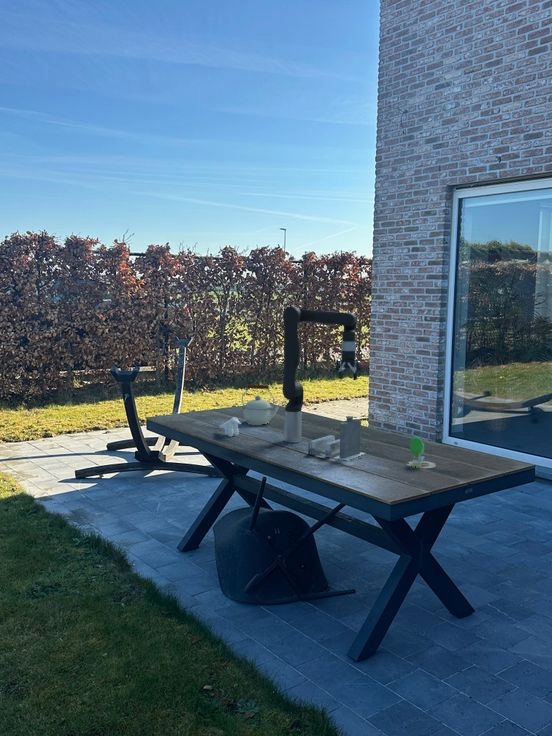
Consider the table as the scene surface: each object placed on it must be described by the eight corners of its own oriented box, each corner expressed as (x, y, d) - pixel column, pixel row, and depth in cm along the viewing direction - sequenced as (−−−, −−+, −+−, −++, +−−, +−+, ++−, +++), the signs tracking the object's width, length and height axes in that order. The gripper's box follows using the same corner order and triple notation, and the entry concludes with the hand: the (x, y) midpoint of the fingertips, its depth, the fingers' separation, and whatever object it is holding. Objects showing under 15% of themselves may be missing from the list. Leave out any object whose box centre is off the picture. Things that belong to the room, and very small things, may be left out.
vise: (307, 454, 322) (307, 441, 322) (328, 447, 338) (328, 434, 337) (329, 458, 314) (329, 445, 313) (349, 451, 329) (350, 438, 329)
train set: (423, 442, 293) (400, 437, 304) (422, 470, 294) (400, 464, 305) (443, 438, 302) (420, 433, 313) (442, 465, 303) (419, 459, 314)
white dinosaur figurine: (237, 438, 355) (235, 418, 355) (214, 435, 374) (212, 416, 374) (246, 436, 360) (245, 417, 359) (223, 433, 378) (222, 415, 378)
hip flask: (343, 458, 312) (344, 419, 310) (336, 457, 315) (337, 418, 312) (361, 453, 324) (362, 414, 321) (355, 451, 326) (355, 413, 324)
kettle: (236, 424, 397) (236, 385, 394) (246, 419, 414) (246, 382, 412) (274, 427, 390) (274, 387, 387) (282, 421, 407) (283, 383, 404)
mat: (333, 458, 314) (333, 457, 314) (352, 451, 328) (352, 450, 328) (347, 461, 309) (347, 460, 309) (365, 454, 324) (365, 453, 324)
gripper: (333, 349, 341) (333, 379, 342) (356, 350, 332) (355, 381, 334) (341, 348, 346) (340, 377, 348) (363, 349, 338) (363, 379, 340)
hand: (348, 379), depth 341 cm, fingers open, 8 cm apart
